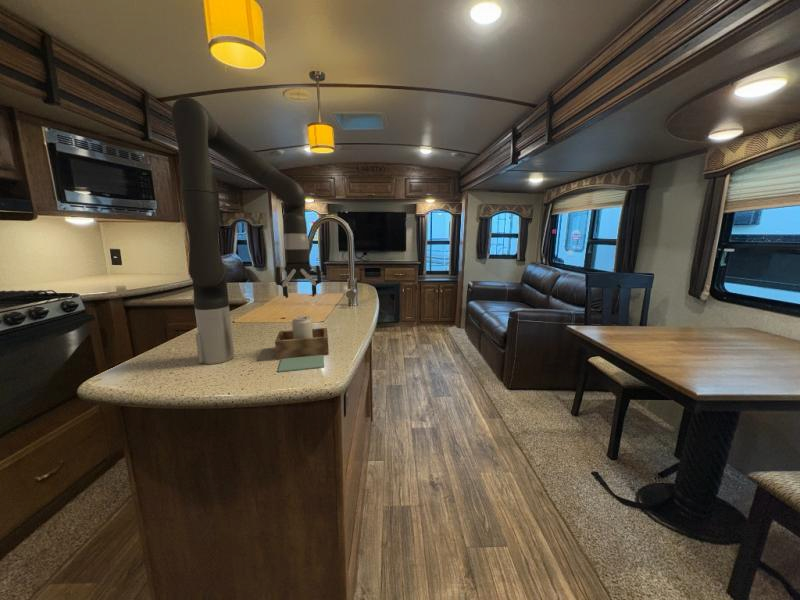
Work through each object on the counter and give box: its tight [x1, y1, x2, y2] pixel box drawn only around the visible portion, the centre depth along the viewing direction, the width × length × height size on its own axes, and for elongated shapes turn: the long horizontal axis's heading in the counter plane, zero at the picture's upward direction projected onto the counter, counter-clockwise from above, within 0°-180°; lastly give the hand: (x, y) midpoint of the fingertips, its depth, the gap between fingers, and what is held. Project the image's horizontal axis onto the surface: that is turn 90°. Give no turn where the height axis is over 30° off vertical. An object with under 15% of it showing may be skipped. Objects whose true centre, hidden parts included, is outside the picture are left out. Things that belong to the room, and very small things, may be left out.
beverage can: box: [291, 315, 313, 339], centre depth 105 cm, size 6×6×12 cm
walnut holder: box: [274, 327, 330, 360], centre depth 106 cm, size 16×12×6 cm
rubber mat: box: [277, 355, 325, 373], centre depth 95 cm, size 13×10×1 cm
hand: (300, 296), depth 103 cm, fingers open, 8 cm apart
